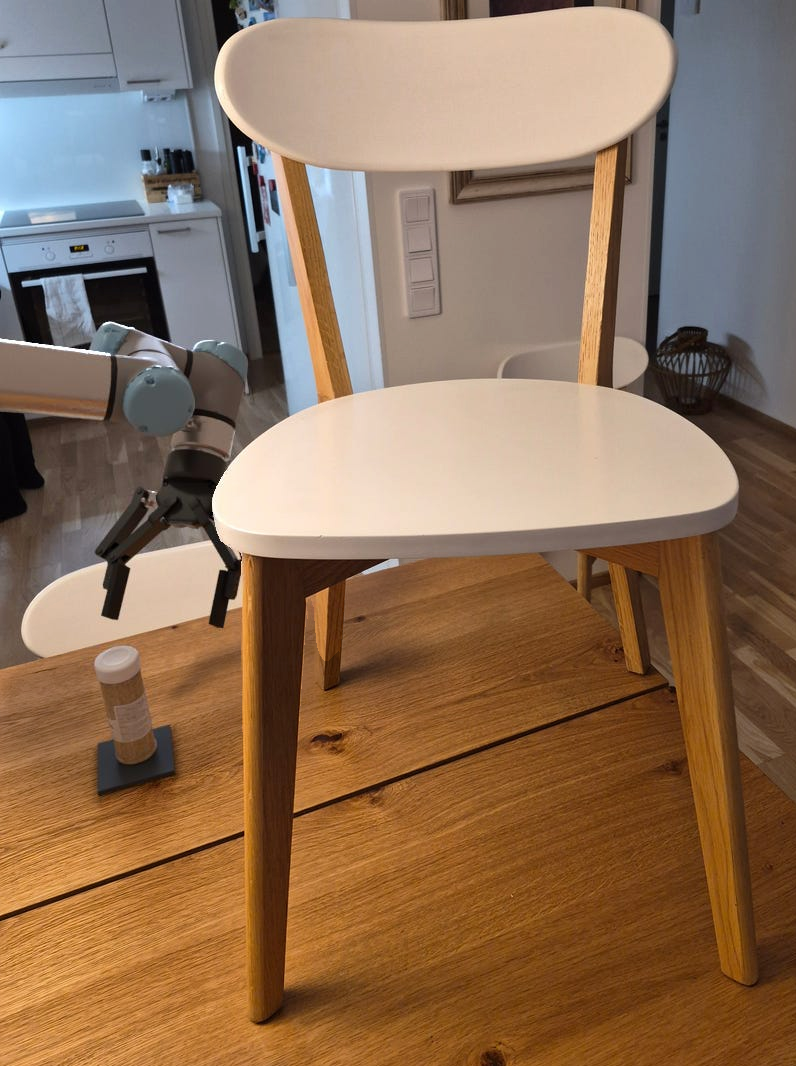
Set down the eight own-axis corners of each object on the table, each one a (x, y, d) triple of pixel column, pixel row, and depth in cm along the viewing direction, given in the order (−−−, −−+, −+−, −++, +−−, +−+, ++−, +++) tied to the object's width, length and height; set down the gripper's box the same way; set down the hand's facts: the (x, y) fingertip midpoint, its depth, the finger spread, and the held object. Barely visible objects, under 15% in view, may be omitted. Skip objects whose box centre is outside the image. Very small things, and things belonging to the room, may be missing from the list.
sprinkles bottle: (115, 744, 99) (93, 649, 94) (157, 733, 101) (137, 639, 95) (116, 771, 95) (93, 674, 90) (159, 759, 97) (139, 663, 91)
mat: (98, 795, 93) (97, 791, 93) (98, 746, 100) (97, 742, 99) (175, 774, 96) (174, 770, 95) (170, 728, 102) (169, 724, 102)
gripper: (93, 441, 108) (48, 608, 100) (282, 450, 105) (250, 624, 97) (123, 462, 115) (82, 620, 107) (300, 471, 112) (272, 634, 104)
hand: (162, 622), depth 102 cm, fingers open, 13 cm apart
